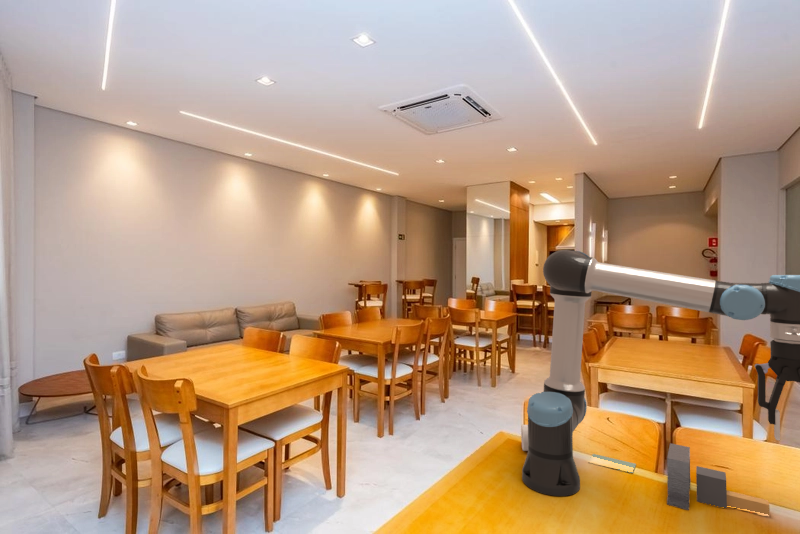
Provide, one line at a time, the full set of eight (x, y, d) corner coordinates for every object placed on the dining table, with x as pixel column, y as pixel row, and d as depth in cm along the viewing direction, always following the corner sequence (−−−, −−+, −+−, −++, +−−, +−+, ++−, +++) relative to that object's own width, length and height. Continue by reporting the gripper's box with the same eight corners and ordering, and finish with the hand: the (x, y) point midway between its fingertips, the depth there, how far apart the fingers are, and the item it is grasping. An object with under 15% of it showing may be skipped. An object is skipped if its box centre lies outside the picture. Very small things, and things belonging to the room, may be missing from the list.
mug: (556, 457, 131) (556, 432, 131) (523, 454, 133) (523, 429, 133) (550, 441, 142) (550, 418, 143) (520, 439, 144) (520, 416, 145)
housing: (667, 504, 104) (666, 462, 104) (671, 476, 118) (670, 439, 118) (688, 510, 101) (688, 467, 101) (690, 481, 115) (690, 443, 115)
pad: (588, 463, 127) (588, 462, 127) (592, 454, 132) (592, 453, 132) (632, 474, 119) (632, 473, 119) (636, 464, 125) (636, 463, 125)
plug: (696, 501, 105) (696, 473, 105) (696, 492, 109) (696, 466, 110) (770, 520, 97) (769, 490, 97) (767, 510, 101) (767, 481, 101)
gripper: (743, 339, 99) (744, 437, 99) (852, 347, 88) (854, 457, 88) (741, 335, 105) (742, 427, 105) (842, 342, 95) (844, 444, 94)
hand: (793, 441), depth 97 cm, fingers open, 5 cm apart
